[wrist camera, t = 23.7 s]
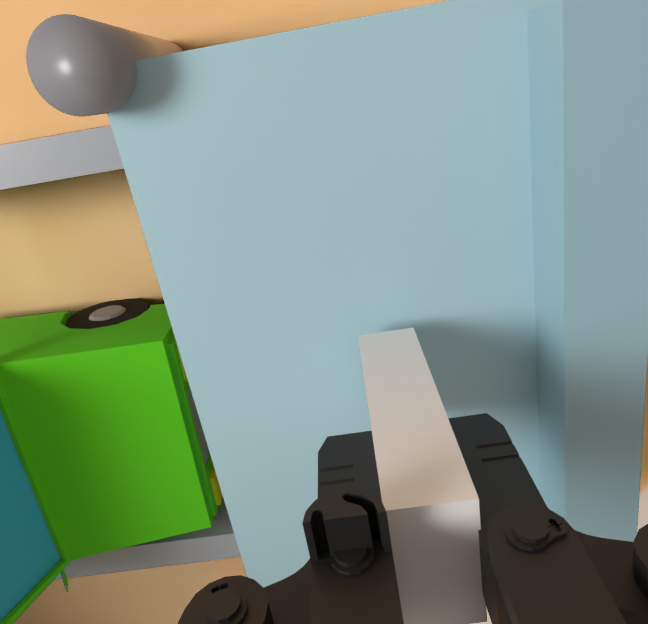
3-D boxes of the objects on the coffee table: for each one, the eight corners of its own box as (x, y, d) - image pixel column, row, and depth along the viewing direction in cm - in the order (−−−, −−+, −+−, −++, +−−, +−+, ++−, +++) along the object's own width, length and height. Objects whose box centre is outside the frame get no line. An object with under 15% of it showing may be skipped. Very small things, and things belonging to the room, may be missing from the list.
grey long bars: (62, 513, 26) (19, 584, 22) (-93, 161, 20) (-188, 178, 16) (578, 444, 25) (623, 508, 21) (583, 40, 18) (649, 30, 15)
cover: (250, 492, 25) (218, 665, 18) (126, 46, 18) (-13, 19, 11) (537, 453, 24) (632, 617, 17) (524, -31, 17) (676, -119, 10)
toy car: (243, 472, 25) (197, 695, 16) (-35, 500, 26) (-233, 730, 17) (196, 260, 21) (100, 392, 12) (-129, 299, 22) (-455, 454, 13)
